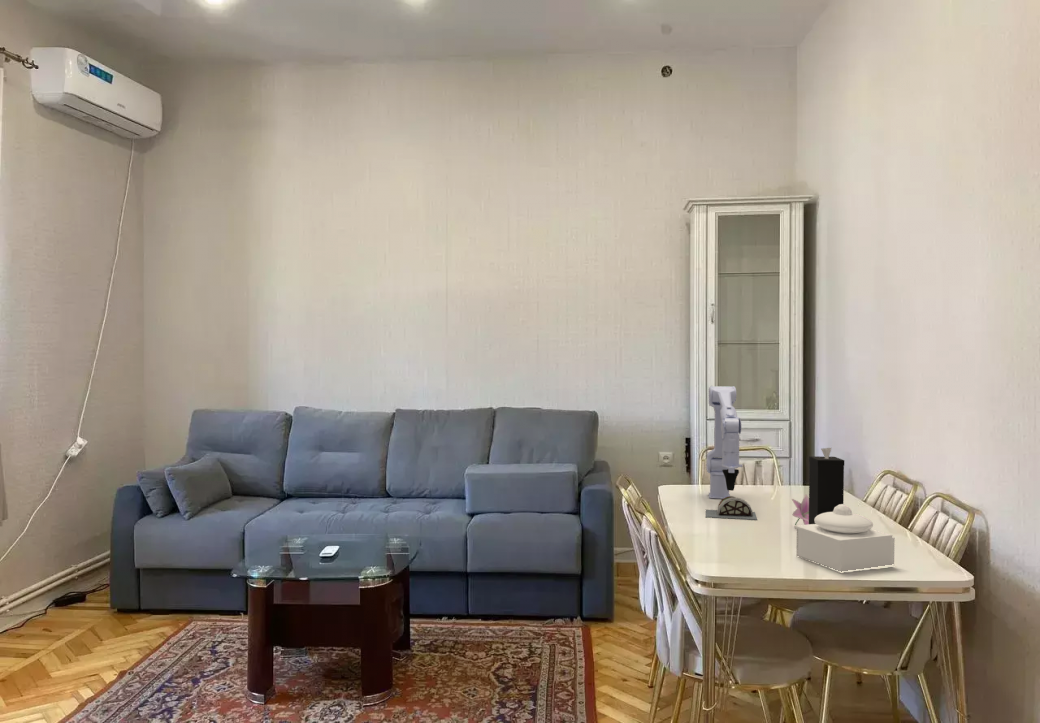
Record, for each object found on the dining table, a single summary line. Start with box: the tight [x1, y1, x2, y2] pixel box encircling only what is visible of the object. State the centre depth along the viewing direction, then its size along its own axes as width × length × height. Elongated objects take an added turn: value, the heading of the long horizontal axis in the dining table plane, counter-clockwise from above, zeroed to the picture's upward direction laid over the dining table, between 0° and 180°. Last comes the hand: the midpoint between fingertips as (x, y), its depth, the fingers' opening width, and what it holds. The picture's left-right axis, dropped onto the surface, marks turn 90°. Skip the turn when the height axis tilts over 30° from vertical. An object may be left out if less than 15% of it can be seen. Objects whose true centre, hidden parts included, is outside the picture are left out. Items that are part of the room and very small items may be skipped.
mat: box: [705, 509, 758, 521], centre depth 270 cm, size 12×17×1 cm
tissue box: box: [808, 447, 845, 524], centre depth 236 cm, size 8×8×28 cm
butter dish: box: [794, 503, 896, 572], centre depth 211 cm, size 18×18×16 cm
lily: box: [791, 494, 809, 526], centre depth 252 cm, size 12×12×10 cm
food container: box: [716, 495, 754, 516], centre depth 271 cm, size 12×6×10 cm
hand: (730, 490), depth 274 cm, fingers closed
